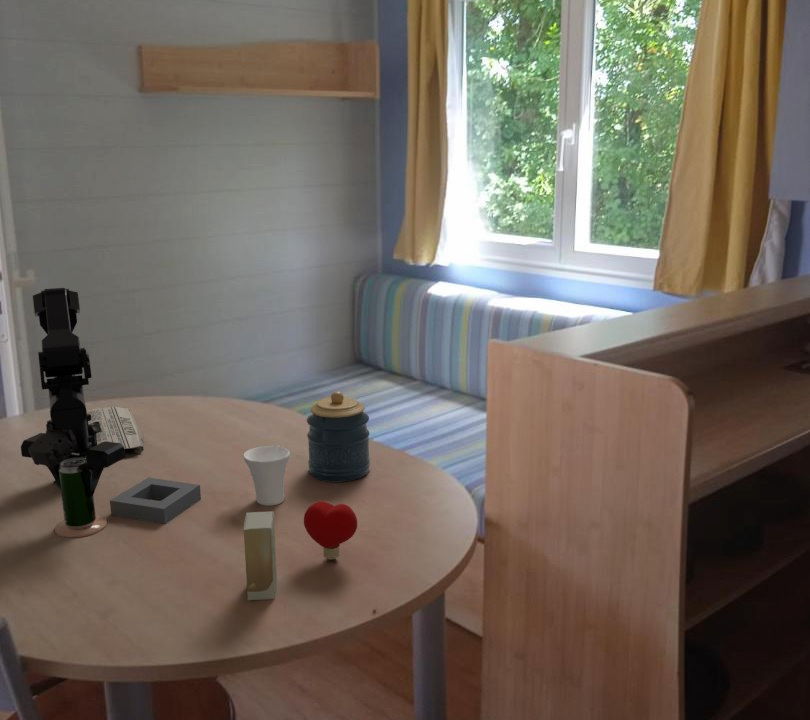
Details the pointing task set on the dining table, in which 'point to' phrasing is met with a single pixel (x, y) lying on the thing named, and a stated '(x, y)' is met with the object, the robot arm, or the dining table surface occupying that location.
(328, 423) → the canister
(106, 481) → the dining table surface
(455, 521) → the dining table surface
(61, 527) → the coaster
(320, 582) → the dining table surface
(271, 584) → the skincare box
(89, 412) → the newspaper
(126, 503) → the square frame
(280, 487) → the cup
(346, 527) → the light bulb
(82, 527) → the beer can
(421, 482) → the dining table surface
